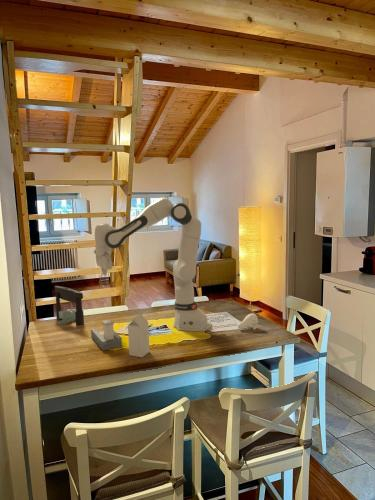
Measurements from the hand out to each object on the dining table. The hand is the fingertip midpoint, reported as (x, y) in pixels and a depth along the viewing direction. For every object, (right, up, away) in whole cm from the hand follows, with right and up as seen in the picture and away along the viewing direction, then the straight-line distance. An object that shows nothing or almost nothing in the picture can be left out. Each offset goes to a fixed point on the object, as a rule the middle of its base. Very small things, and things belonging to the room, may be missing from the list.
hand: (104, 274), depth 210 cm
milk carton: (+26, -36, -38) cm, 58 cm away
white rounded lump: (+83, -30, -8) cm, 88 cm away
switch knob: (+8, -31, -26) cm, 41 cm away
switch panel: (+6, -34, -21) cm, 40 cm away
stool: (-26, -30, +16) cm, 43 cm away
